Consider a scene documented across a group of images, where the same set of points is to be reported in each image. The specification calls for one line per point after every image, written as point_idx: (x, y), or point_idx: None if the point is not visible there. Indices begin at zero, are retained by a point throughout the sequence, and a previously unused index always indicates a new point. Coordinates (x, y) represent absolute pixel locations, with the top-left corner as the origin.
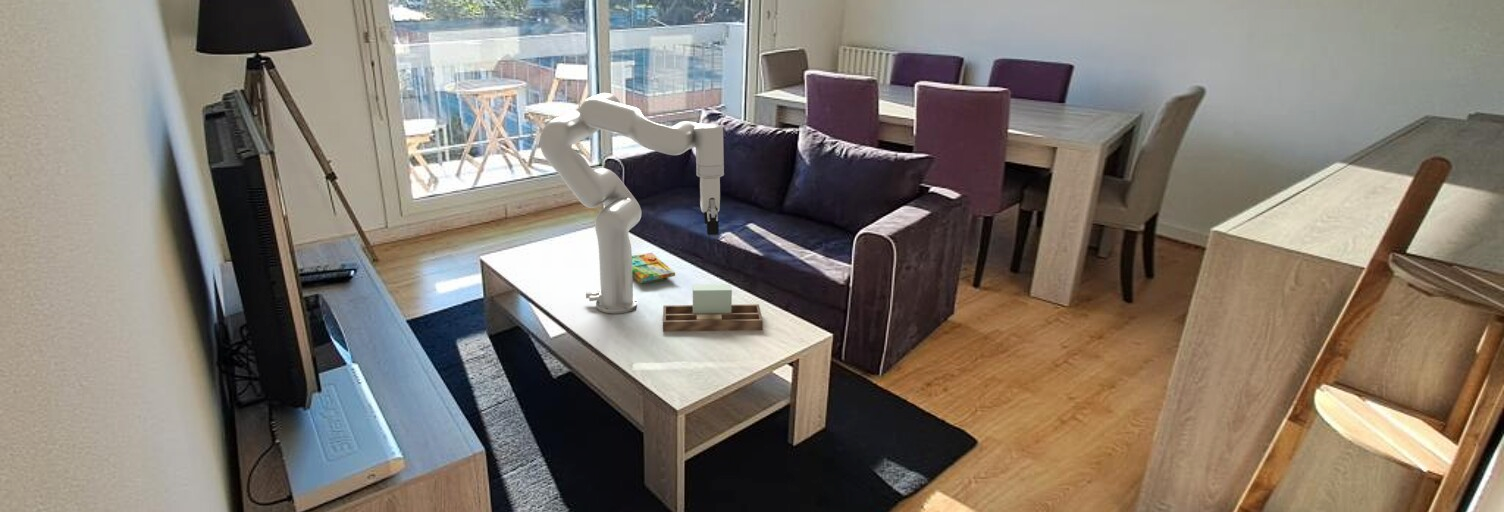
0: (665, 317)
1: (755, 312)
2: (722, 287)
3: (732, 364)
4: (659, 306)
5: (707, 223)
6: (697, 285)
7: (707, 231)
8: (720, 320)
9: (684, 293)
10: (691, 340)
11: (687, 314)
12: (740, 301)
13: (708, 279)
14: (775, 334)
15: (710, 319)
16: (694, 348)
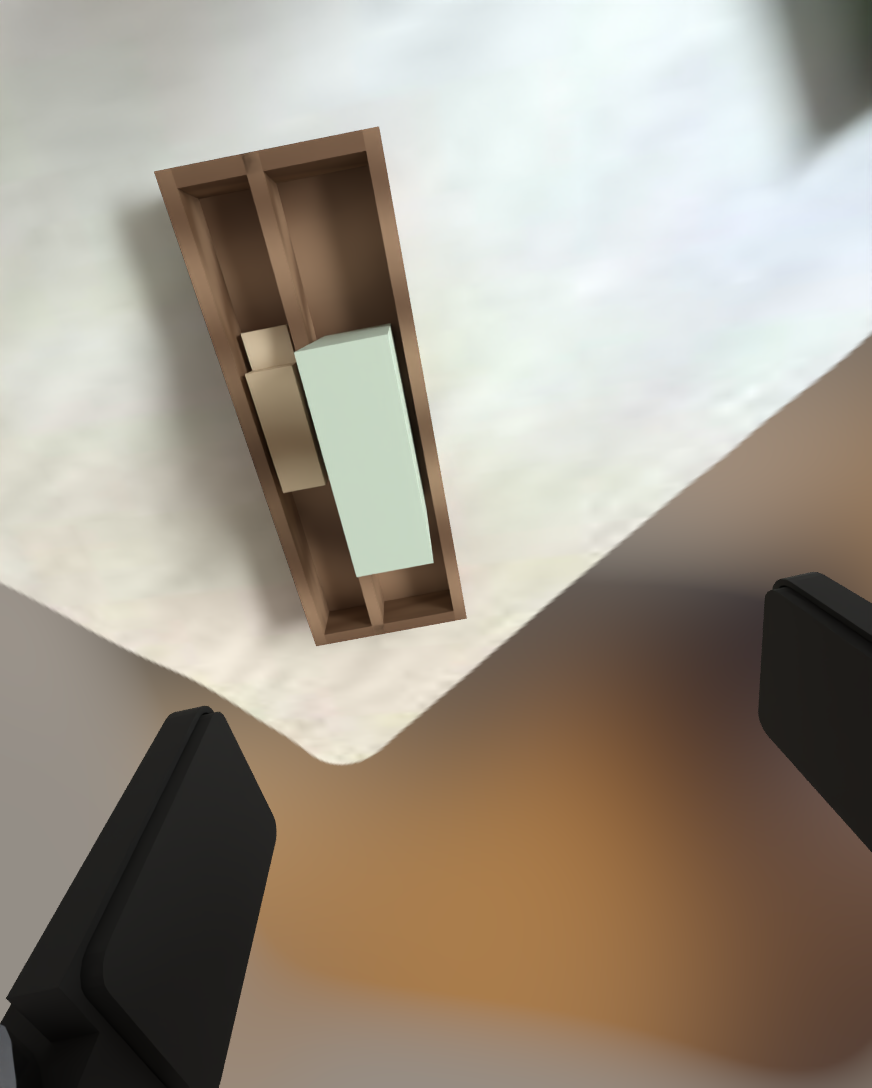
0: (216, 178)
1: (449, 591)
2: (382, 525)
3: (45, 544)
4: (534, 88)
5: (55, 931)
6: (383, 369)
7: (149, 755)
8: (266, 488)
9: (705, 221)
10: (182, 351)
11: (291, 311)
12: (604, 508)
13: (868, 330)
14: (329, 652)
15: (267, 441)
16: (112, 378)
